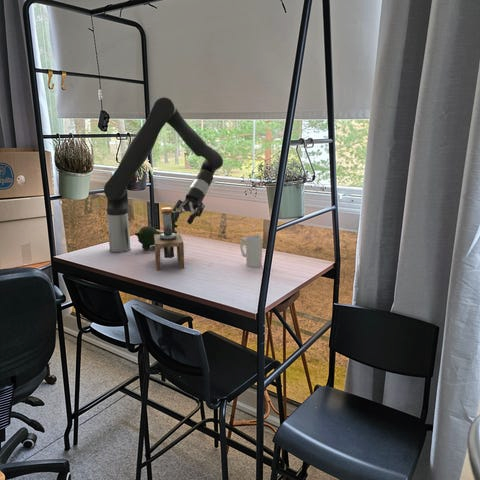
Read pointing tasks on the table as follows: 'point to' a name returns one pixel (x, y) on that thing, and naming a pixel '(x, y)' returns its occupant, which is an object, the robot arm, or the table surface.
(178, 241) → the wooden block with hole
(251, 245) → the mug
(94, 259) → the table surface
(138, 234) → the toy figurine
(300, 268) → the table surface
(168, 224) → the pin
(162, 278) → the table surface
